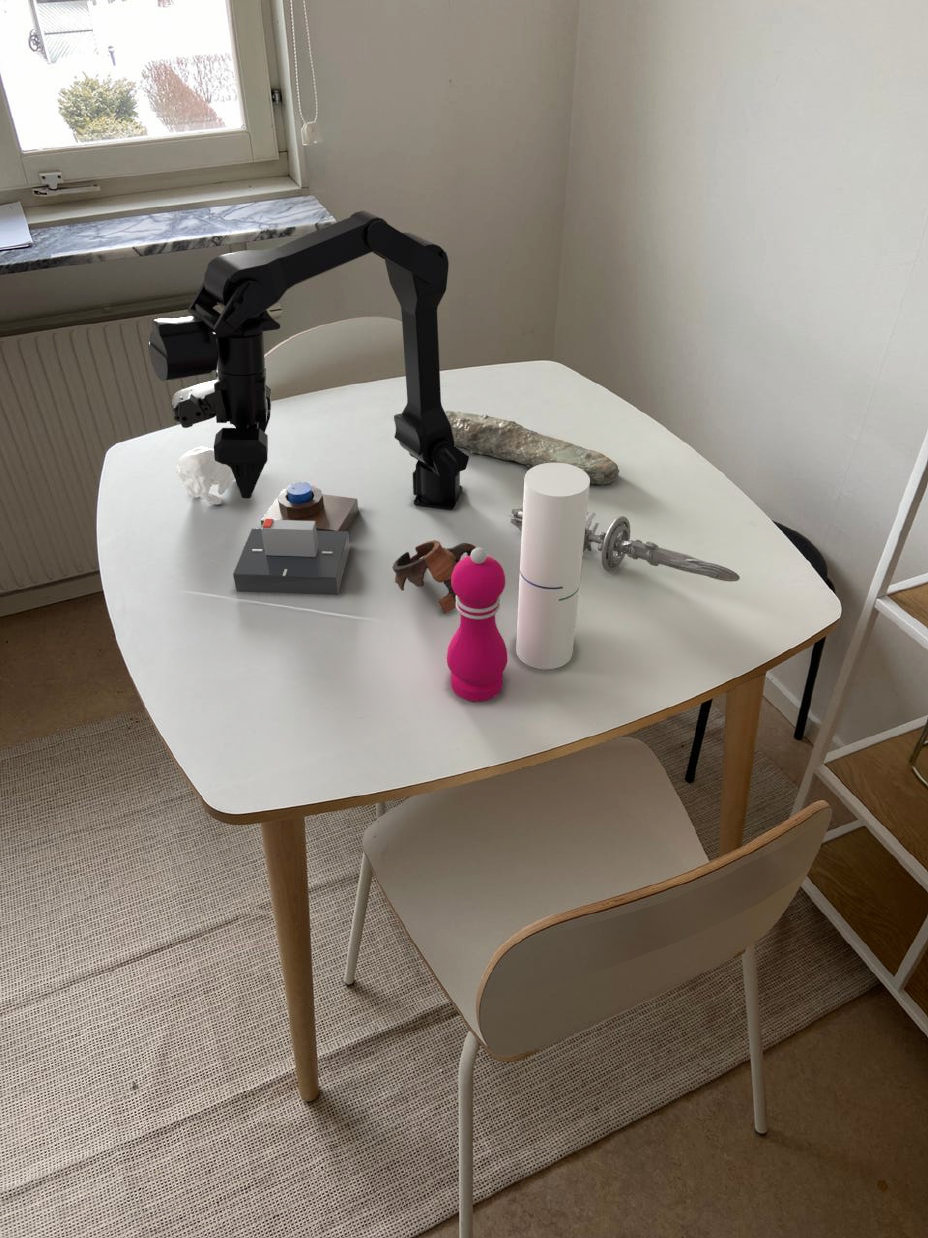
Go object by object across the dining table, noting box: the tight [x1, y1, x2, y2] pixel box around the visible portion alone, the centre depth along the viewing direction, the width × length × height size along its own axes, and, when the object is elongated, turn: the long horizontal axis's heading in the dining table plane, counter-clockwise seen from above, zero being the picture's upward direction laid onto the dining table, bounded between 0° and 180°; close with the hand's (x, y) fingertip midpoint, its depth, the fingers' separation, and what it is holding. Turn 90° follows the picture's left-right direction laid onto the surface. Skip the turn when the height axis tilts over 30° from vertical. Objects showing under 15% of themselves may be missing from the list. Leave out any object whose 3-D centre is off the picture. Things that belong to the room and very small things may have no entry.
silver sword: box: [508, 506, 741, 582], centre depth 128 cm, size 8×35×8 cm
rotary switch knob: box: [260, 519, 319, 557], centre depth 127 cm, size 7×2×5 cm, turn 87°
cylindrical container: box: [515, 463, 591, 670], centre depth 109 cm, size 7×7×25 cm
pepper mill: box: [446, 547, 509, 703], centre depth 106 cm, size 7×7×20 cm
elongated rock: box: [444, 410, 620, 485], centre depth 154 cm, size 35×5×10 cm
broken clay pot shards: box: [391, 539, 477, 614], centre depth 125 cm, size 12×10×8 cm
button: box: [286, 481, 313, 504], centre depth 137 cm, size 4×4×2 cm
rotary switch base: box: [232, 528, 351, 596], centre depth 129 cm, size 14×11×3 cm
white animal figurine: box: [175, 446, 236, 506], centre depth 144 cm, size 6×8×12 cm
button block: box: [260, 484, 359, 532], centre depth 138 cm, size 12×9×4 cm
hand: (247, 480), depth 122 cm, fingers open, 9 cm apart
